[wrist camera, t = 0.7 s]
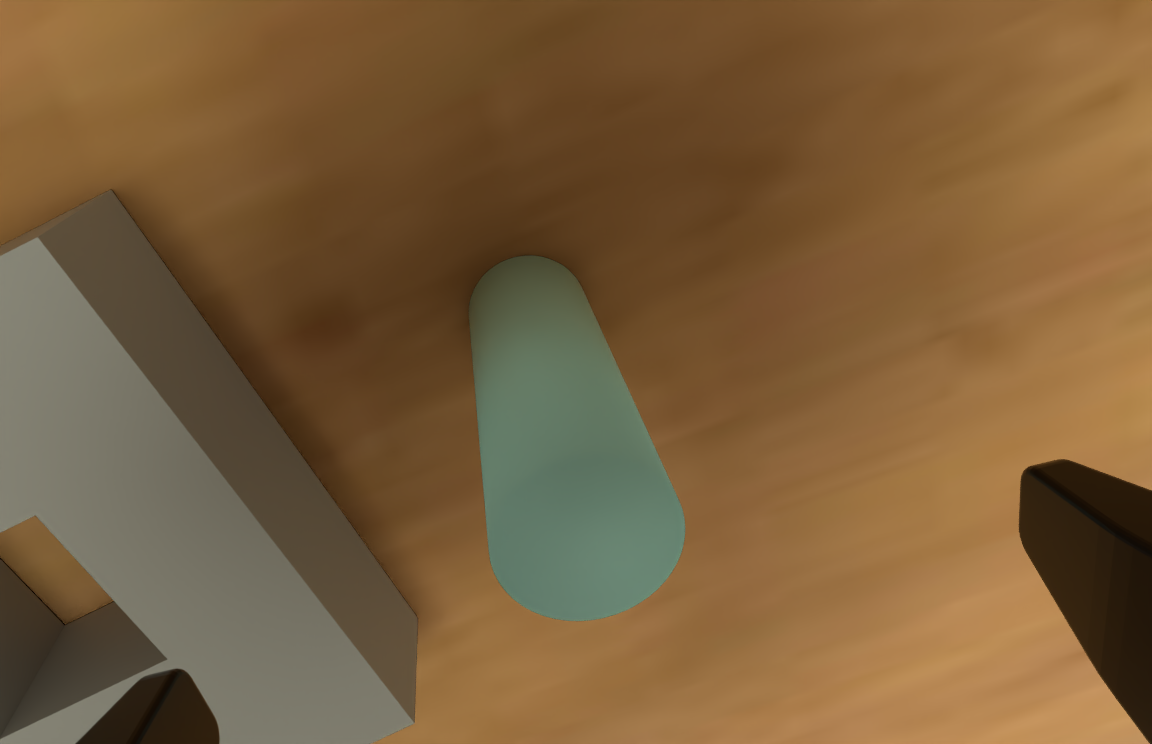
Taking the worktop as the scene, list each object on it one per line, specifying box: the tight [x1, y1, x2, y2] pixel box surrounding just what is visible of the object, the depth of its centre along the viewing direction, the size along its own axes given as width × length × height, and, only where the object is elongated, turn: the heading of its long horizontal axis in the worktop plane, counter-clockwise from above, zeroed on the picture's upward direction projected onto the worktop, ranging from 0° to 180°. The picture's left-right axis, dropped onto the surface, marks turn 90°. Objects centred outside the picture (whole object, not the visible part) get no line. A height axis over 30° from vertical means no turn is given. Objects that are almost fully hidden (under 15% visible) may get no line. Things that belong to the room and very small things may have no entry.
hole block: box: [0, 190, 418, 744], centre depth 21 cm, size 12×14×4 cm
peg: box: [469, 256, 685, 621], centre depth 18 cm, size 3×3×10 cm
